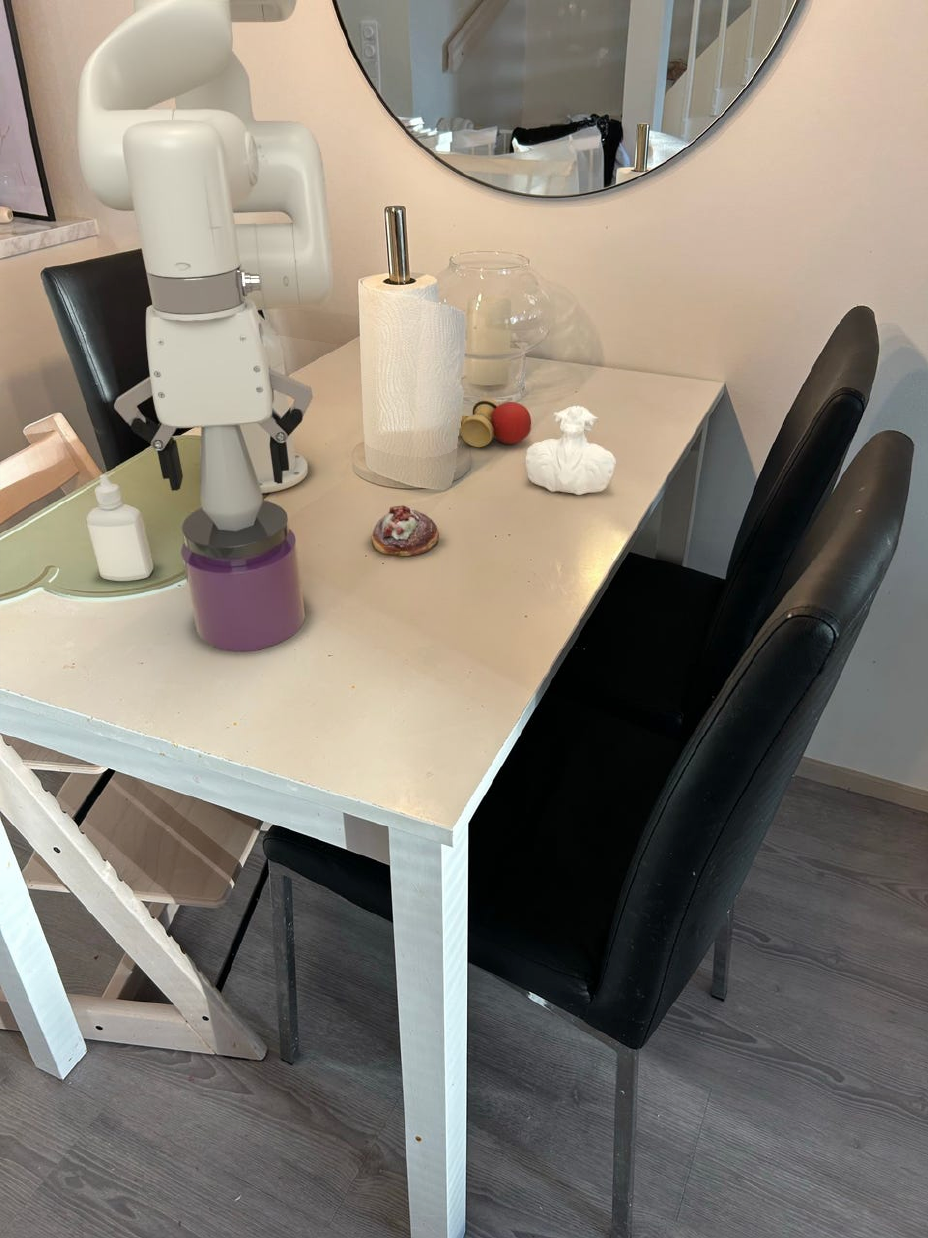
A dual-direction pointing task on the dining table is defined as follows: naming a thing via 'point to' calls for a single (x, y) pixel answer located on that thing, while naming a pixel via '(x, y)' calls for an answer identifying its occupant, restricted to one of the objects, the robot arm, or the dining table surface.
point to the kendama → (495, 423)
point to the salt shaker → (228, 479)
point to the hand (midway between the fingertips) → (228, 480)
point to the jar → (243, 580)
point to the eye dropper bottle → (118, 536)
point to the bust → (570, 457)
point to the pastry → (404, 532)
